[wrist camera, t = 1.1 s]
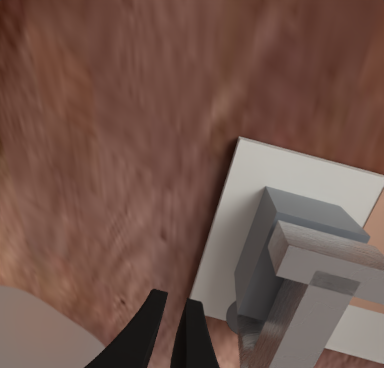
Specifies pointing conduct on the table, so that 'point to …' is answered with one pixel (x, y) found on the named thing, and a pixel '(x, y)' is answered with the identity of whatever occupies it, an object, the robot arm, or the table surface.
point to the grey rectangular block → (260, 237)
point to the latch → (308, 296)
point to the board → (305, 186)
